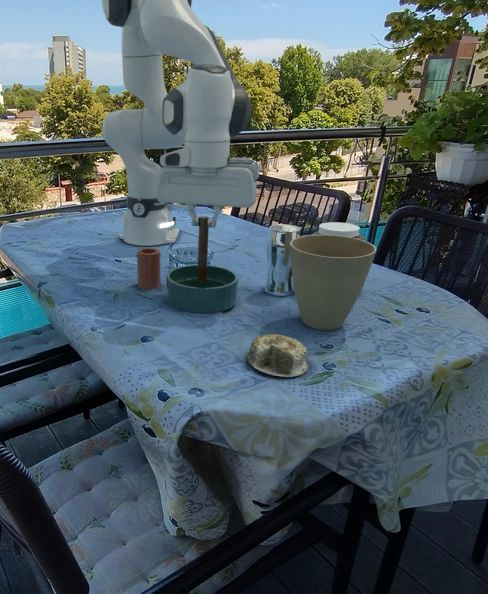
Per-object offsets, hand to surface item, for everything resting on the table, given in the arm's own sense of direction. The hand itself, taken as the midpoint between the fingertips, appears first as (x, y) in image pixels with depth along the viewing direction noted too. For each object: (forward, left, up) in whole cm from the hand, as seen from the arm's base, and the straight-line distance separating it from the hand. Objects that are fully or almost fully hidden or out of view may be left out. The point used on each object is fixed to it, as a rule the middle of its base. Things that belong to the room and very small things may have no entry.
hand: (203, 226), depth 96 cm
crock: (-4, -14, -17) cm, 22 cm away
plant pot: (+2, +25, -17) cm, 30 cm away
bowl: (0, 0, -17) cm, 17 cm away
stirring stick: (0, 0, -12) cm, 12 cm away
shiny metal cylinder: (-12, +15, -17) cm, 26 cm away
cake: (+21, +19, -17) cm, 33 cm away
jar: (-17, +26, -17) cm, 36 cm away
